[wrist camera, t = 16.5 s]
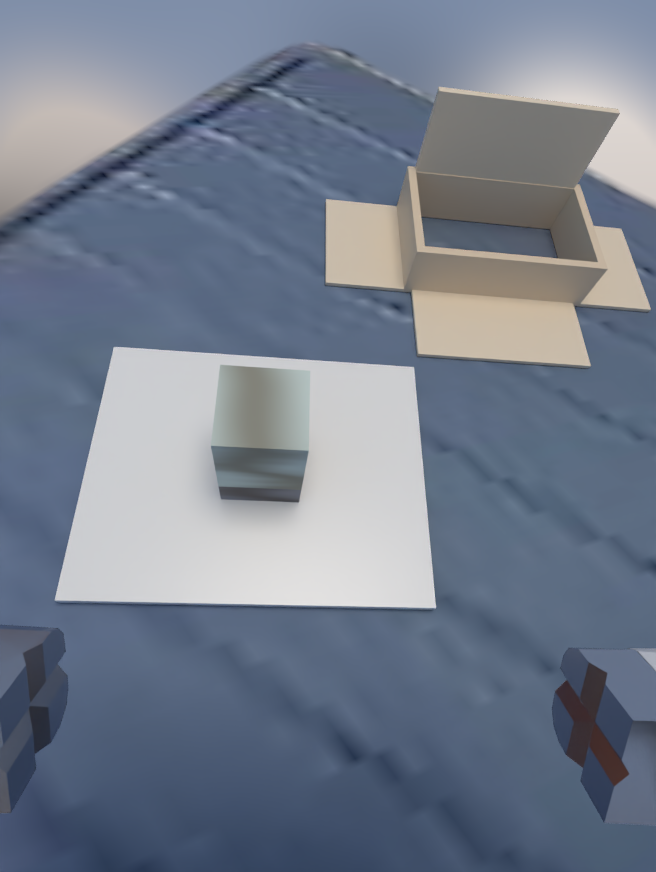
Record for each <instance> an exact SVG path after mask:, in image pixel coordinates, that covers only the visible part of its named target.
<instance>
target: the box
mask: <svg viewBox="0 0 656 872" xmlns="http://www.w3.org/2000/svg"><path fill="white" fill-rule="evenodd" d="M309 411H310V371H307V370H291V369H276V368H261V367H246V366H231V365H220V371H219V379H218V388H217V397H216V405H215V414H214V423H213V431H212V440H211V449H212V455H213V460H214V465H215V471H216V476H217V481H218V486H219V492H220V497H221V499H225V500H250V501H275V502H299V499H300V494H301V489H302V484H303V478H304V473H305V468H306V463H307V457H308V452H309Z"/></svg>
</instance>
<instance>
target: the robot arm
mask: <svg viewBox="0 0 656 872" xmlns="http://www.w3.org/2000/svg"><path fill="white" fill-rule="evenodd" d="M65 652H66V649H65V641H64V633H63V632H62V631H61V630H60V629H59V628H48V627H31V626H14V625H0V813H11V812H12V810H13V809H14V807H15V805H16V803H17V802H18V800H19V798H20V796H21V795H22V793H23V791H24V789H25V788H26V786H27V784H28V782H29V781H30V779H31V777H32V775H33V774H34V772H35V770H36V763H35V753H37V752H38V751H39V750H41V749H42V748H44V747H45V746H47V745H48V744H49V743H51V742H52V740H53V738H54V736H55V734H56V732H57V730H58V729H59V727H60V724H61V721H62V718H63V715H64V711H65V708H66V705H67V696H68V676H67V674H66V673H65V672H64V671H63V670H62V669H61V668H60V666H59V665H58V662H59V661H60V659H61V658H62V656H63V655H64V653H65ZM560 669H561V671H562V672H563V674H564V676H565V678H566V681H565V682H564V683H563V684H562V685H561V686H560V687H559V688H558V689H557V690H556V691H555V694H554V699H553V705H552V715H553V725H554V729H555V732H556V735H557V738H558V741H559V743H560V745H561V747H562V748H563V750H564V752H565V754H566V755H567V756H568V757H569V758H571V759H572V760H573V761H574V762H576V763H577V764H578V765H580V766H581V767H582V768H583V770H582V775H581V780H580V781H581V783H582V785H583V786H584V788H585V790H586V792H587V793H588V795H589V797H590V799H591V800H592V802H593V804H594V806H595V807H596V809H597V811H598V813H599V815H600V816H601V818H602V820H603V822H604V823H615V824H635V825H656V649H648V648H628V649H597V648H568V650H567V651H566V652H565V654H564V655H563V659H562V663H561V667H560Z"/></svg>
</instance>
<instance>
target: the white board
mask: <svg viewBox="0 0 656 872" xmlns="http://www.w3.org/2000/svg"><path fill="white" fill-rule="evenodd" d="M220 365H231V366H246V367H261V368H276V369H291V370H307V371H310V411H309V452H308V457H307V463H306V468H305V473H304V478H303V484H302V489H301V494H300V499H299V502H275V501H250V500H225V499H221V497H220V492H219V486H218V481H217V476H216V471H215V465H214V460H213V455H212V449H211V440H212V431H213V423H214V414H215V405H216V397H217V388H218V379H219V371H220ZM55 601H57V602H59V603H110V604H161V605H211V606H262V607H313V608H364V609H414V610H433V609H435V608H436V603H435V592H434V581H433V571H432V560H431V549H430V538H429V527H428V516H427V505H426V494H425V483H424V472H423V461H422V450H421V440H420V429H419V418H418V407H417V396H416V385H415V374H414V367H403V366H388V365H374V364H359V363H344V362H330V361H315V360H300V359H286V358H271V357H256V356H242V355H227V354H212V353H198V352H183V351H168V350H154V349H139V348H124V347H114V350H113V354H112V358H111V362H110V367H109V371H108V375H107V379H106V384H105V388H104V392H103V396H102V401H101V405H100V409H99V414H98V418H97V422H96V426H95V431H94V435H93V439H92V443H91V448H90V452H89V456H88V460H87V465H86V469H85V473H84V478H83V482H82V486H81V490H80V495H79V499H78V503H77V507H76V512H75V516H74V520H73V524H72V529H71V533H70V537H69V542H68V546H67V550H66V554H65V559H64V563H63V567H62V571H61V576H60V580H59V584H58V588H57V593H56V597H55Z"/></svg>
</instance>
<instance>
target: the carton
mask: <svg viewBox="0 0 656 872" xmlns="http://www.w3.org/2000/svg"><path fill="white" fill-rule="evenodd" d="M619 114H620V113H619V110H618V109H612V108H604V107H595V106H588V105H580V104H572V103H563V102H556V101H548V100H540V99H532V98H524V97H516V96H508V95H500V94H492V93H483V92H476V91H468V90H460V89H452V88H444V87H438V91H437V94H436V98H435V101H434V105H433V108H432V112H431V115H430V118H429V122H428V125H427V129H426V132H425V136H424V139H423V143H422V146H421V150H420V153H419V157H418V160H417V164H416V167H411V166H408V167H407V171H406V175H405V178H404V182H403V186H402V189H401V193H400V197H399V200H398V204H397V206H388V205H378V204H368V203H358V202H348V201H338V200H328V199H326V262H325V285H327V286H339V287H351V288H363V289H375V290H387V291H399V292H411V299H412V309H413V319H414V330H415V340H416V351H417V356H420V357H434V358H448V359H462V360H476V361H491V362H505V363H519V364H533V365H547V366H562V367H576V368H589V367H590V366H591V365H590V361H589V358H588V354H587V351H586V347H585V344H584V340H583V336H582V333H581V329H580V326H579V322H578V319H577V315H576V312H575V308H574V306H580V307H592V308H604V309H616V310H628V311H640V312H649V311H650V310H651V308H650V305H649V303H648V300H647V297H646V295H645V292H644V289H643V286H642V284H641V281H640V278H639V276H638V273H637V270H636V267H635V265H634V262H633V259H632V257H631V254H630V251H629V248H628V246H627V243H626V240H625V238H624V235H623V232H622V229H618V228H608V227H598V226H593V223H592V220H591V217H590V214H589V211H588V208H587V205H586V202H585V199H584V196H583V193H582V190H581V187H580V185H577V183H578V182H579V180H580V178H581V177H582V175H583V173H584V172H585V170H586V168H587V167H588V165H589V163H590V162H591V160H592V158H593V157H594V155H595V154H596V152H597V150H598V148H599V147H600V145H601V144H602V142H603V140H604V138H605V137H606V135H607V134H608V132H609V130H610V129H611V127H612V125H613V124H614V122H615V121H616V119H617V117H618V116H619ZM421 217H430V218H440V219H450V220H460V221H470V222H480V223H491V224H501V225H511V226H521V227H531V228H541V229H550V232H551V235H552V239H553V242H554V246H555V250H556V253H557V257H558V259H557V258H547V257H536V256H525V255H514V254H503V253H493V252H482V251H471V250H460V249H449V248H439V247H428V246H425V244H424V236H423V227H422V219H421Z"/></svg>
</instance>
